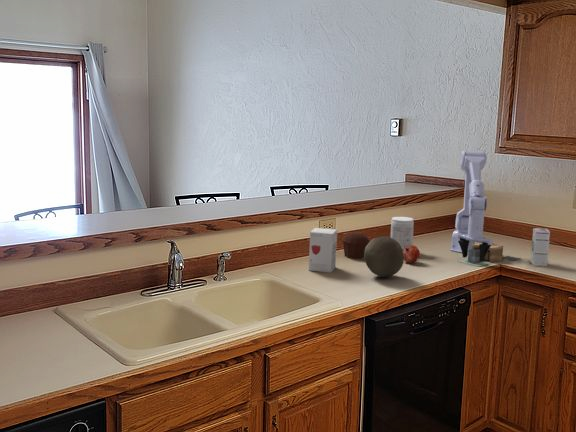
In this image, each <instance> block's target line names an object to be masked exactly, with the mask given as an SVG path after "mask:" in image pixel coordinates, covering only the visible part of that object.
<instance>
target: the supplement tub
mask: <svg viewBox="0 0 576 432" xmlns="http://www.w3.org/2000/svg"><path fill="white" fill-rule="evenodd" d="M390 223H391V224H390V238H393V239H394V240H396V241H397V242H398V243H399V244H400V246H401V248H402V250H404V248H405V247H408V246H409V245H413V244H414V242H413V239H414V224H415V222H414V218H413V217H410V216H393V217H392V218H391V222H390Z"/></svg>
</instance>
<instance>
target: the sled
mask: <svg viewBox="0 0 576 432" xmlns="http://www.w3.org/2000/svg"><path fill="white" fill-rule="evenodd" d="M489 255H490V250H488V251H487V253H486V255H485V258H484V261H486V262H489ZM467 259H468V262H471V263H477V262H480V248H478V249H477V250H476V249H470V250H469V252H468V254H467Z"/></svg>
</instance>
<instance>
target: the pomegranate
mask: <svg viewBox="0 0 576 432" xmlns="http://www.w3.org/2000/svg"><path fill="white" fill-rule="evenodd" d="M403 253H404V262H406V263H408V264H413V265H414V264H416V263H417V262H419V260H418V259H420V258H421V252H420V250H419V248H418V247H417V246H416V245H413V244H412V245H409V246H408V247H405V248H404V250H403Z"/></svg>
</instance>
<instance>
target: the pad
mask: <svg viewBox="0 0 576 432" xmlns="http://www.w3.org/2000/svg"><path fill="white" fill-rule="evenodd" d="M457 263H462V264H466V265H470V266H475V267H479V268H480V267H483V266H487V265H490V264H491V263H490V262H489V261H486V260H484V261H480V262H477V263H471V262H468V258H464V259H461V260H458V261H457Z"/></svg>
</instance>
